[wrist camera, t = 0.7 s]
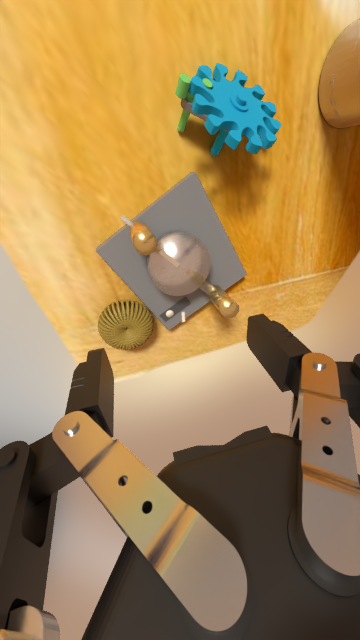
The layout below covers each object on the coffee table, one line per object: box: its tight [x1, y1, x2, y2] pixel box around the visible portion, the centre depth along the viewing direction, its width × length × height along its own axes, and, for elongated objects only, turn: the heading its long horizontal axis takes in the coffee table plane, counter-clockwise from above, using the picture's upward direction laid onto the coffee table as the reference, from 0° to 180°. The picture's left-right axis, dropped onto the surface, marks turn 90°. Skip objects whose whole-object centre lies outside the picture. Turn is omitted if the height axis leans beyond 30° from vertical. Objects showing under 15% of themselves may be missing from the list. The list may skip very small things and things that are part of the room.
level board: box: [96, 172, 247, 330], centre depth 33 cm, size 15×18×2 cm
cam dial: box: [129, 221, 239, 319], centre depth 30 cm, size 16×8×6 cm, turn 49°
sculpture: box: [98, 300, 153, 350], centre depth 35 cm, size 8×4×8 cm
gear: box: [176, 63, 281, 156], centre depth 25 cm, size 11×6×10 cm
